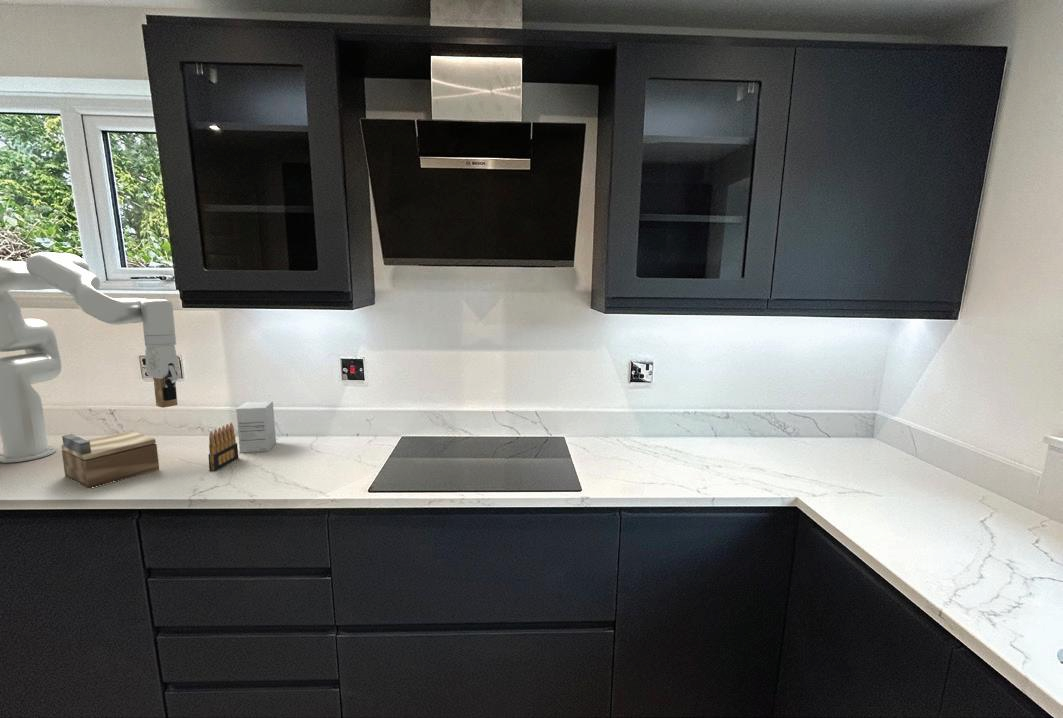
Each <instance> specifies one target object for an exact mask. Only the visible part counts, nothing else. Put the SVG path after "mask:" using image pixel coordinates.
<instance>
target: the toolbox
mask: <svg viewBox="0 0 1063 718" xmlns="http://www.w3.org/2000/svg"><path fill="white" fill-rule="evenodd" d="M157 445H158V444H157V443H154V444H150V445H146V446H142V447H137V448H133V449H129V450H125V451H121V452H116V453H112V454H108V455H104V456H100V457H96V458H91V459H87V460H83V459H81V458H79V457H77V456H75V455H73V454H70V453H68V452H66V451H64V450H62V449H61V456H62V463H63V471H64V475H65V478H67V479H69V478H70V480H71V479H72V480H71V481H73V480H74V482H75V481H76V482H75V483H77V482H78V483H77V484H79V483H80V484H79V485H81V486H82V485H83V486H82V487H84V486H85V487H84V488H86V487H87V488H86V489H88V488H91V489H93V488H92V487H95V488H97V487H96V486H98V487H100V486H99V485H102V486H104V485H103V484H105V485H107V484H106V483H109V484H111V483H110V482H112V483H114V482H113V481H116V482H119V481H122V480H121V479H123V480H126V479H125V478H127V479H130V478H133V476H134V477H137V476H140V474H141V475H144V474H147V473H151V472H155V471H157V470H160V463H159V456H158V455H159V454H158V447H157ZM136 475H137V476H136ZM129 477H130V478H129ZM118 480H119V481H118Z"/></svg>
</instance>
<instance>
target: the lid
mask: <svg viewBox="0 0 1063 718" xmlns="http://www.w3.org/2000/svg"><path fill="white" fill-rule="evenodd" d="M61 438H62V445H61V446H60V447H61V451H62V450H64V451H66V452H68V453H70V454H73V455H75V456H77V457H79V458H81V459H83V460H87V459H91V458H96V457H100V456H104V455H108V454H112V453H116V452H121V451H125V450H129V449H133V448H137V447H142V446H146V445H150V444H157V441H156V438H154V437H150V436H148V435H144V434H143V433H139V432H136V431H134V430H128V431H123V432H118V433H114V434H109V435H103V436H99V437H94V438H90V439H84V438H82V437H80V436H78V435H75V434H73V433H72V434H66V435H62V437H61Z"/></svg>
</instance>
